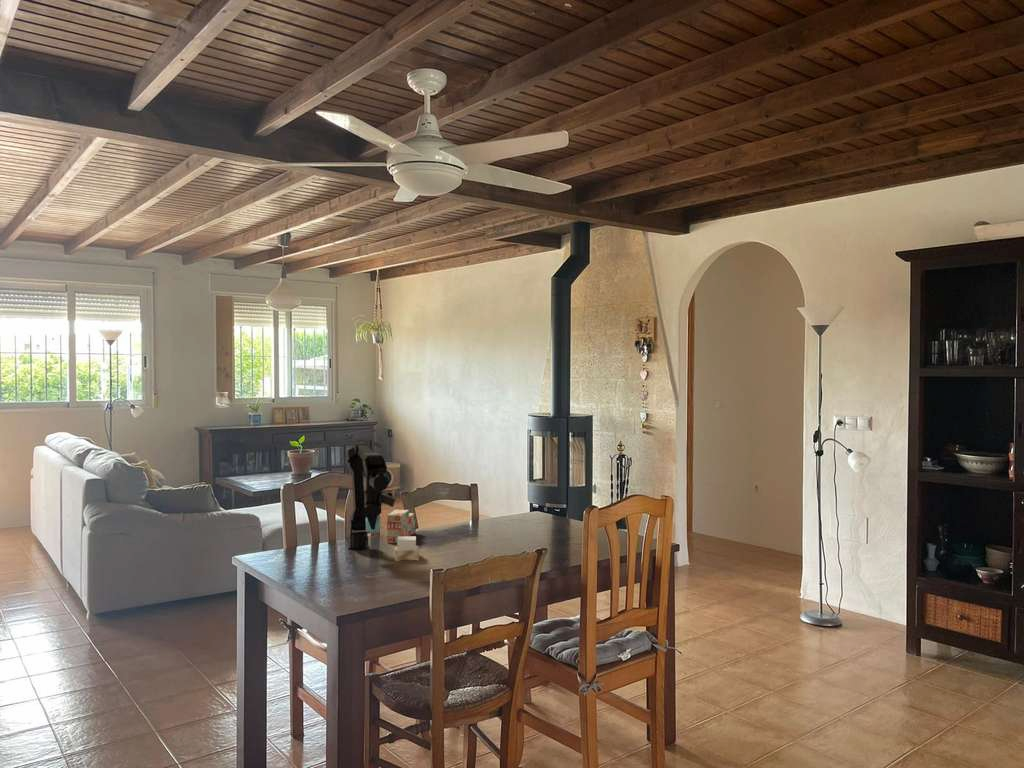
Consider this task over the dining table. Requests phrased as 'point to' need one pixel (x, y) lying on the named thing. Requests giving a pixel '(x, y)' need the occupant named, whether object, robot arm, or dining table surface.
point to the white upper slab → (406, 543)
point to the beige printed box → (399, 525)
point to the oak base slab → (406, 555)
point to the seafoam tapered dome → (377, 526)
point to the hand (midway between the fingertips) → (373, 528)
